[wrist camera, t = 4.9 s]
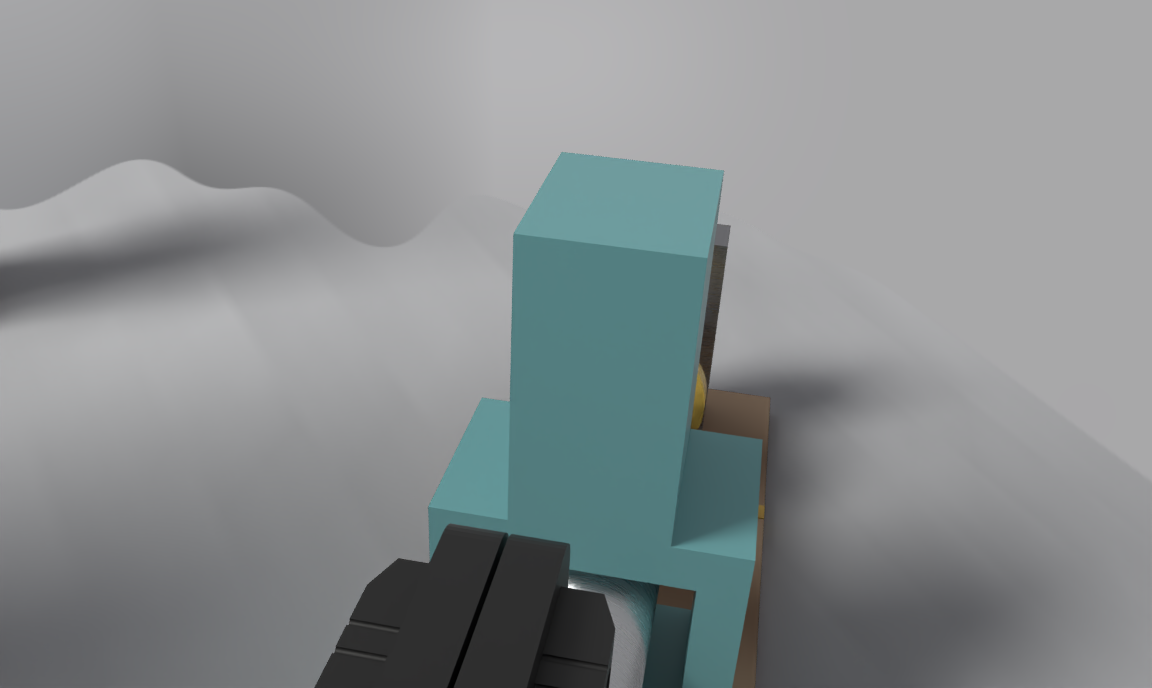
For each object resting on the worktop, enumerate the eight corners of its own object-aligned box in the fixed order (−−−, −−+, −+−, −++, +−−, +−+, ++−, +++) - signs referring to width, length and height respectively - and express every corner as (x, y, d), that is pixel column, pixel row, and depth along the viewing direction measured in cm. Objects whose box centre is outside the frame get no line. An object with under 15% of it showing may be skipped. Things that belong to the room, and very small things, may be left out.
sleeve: (715, 780, 23) (808, 270, 16) (434, 725, 24) (420, 221, 17) (726, 645, 26) (807, 180, 20) (480, 602, 27) (483, 142, 21)
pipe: (643, 890, 21) (677, 652, 18) (452, 850, 22) (448, 611, 18) (711, 404, 36) (736, 226, 33) (599, 388, 37) (612, 211, 33)
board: (737, 974, 20) (741, 955, 20) (346, 888, 21) (344, 869, 21) (767, 411, 37) (770, 396, 37) (549, 379, 38) (550, 365, 38)
